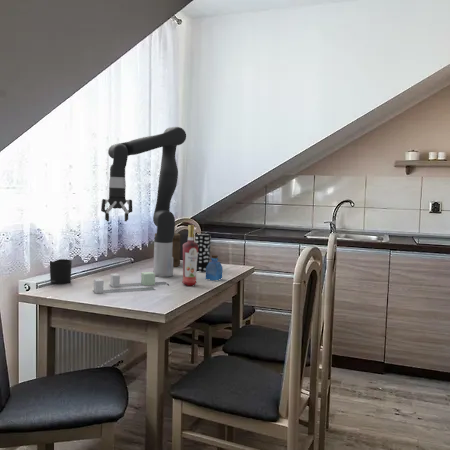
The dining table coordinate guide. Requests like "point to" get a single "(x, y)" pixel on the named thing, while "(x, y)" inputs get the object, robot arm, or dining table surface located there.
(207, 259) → the spotted tube
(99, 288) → the strip
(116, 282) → the strip
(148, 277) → the block
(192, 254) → the liquor
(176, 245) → the wooden container
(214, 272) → the perfume bottle
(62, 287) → the dining table surface
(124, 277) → the dining table surface
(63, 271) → the pen holder
